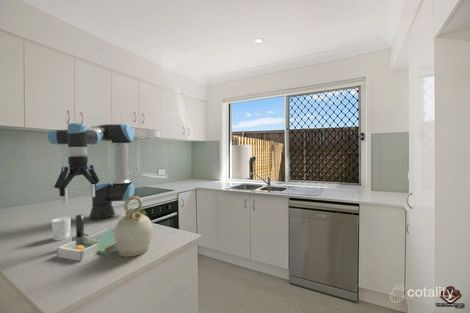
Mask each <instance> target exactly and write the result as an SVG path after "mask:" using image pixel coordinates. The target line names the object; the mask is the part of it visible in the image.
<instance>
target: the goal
mask: <svg viewBox="0 0 470 313" xmlns="http://www.w3.org/2000/svg"><path fill="white" fill-rule="evenodd" d="M75 247H76V241H72V240H71V241H70V242H67V243H65V244H62V245H61V246H57V248H56V257H57V258H59V259H60V258H62V259H68V260H72V261H77V262H83V261H85V260H87V259H89V258H91V257H93V256H95V255H97V254H99V253H98V244H95V245H92V246H90V247H88V248H86V249H84V250H77V249H74V248H75Z"/></svg>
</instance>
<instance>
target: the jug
mask: <svg viewBox="0 0 470 313" xmlns="http://www.w3.org/2000/svg"><path fill="white" fill-rule="evenodd" d="M132 200H136V201H138V207H136V208H133V207H131V208H130V209H129V207H128V205H129V202H131V201H132ZM123 202H124V203H123V209H124V211H125V213H126V212H128V215H127V216H126V215H125V216H123V217H122V218H121V219H119V220H118V221H117V223H116V225H115V227H114V228H115V229H114V230H115V233H114V235H115V241H116V245H117V249H116V250H117V251H118V255H119V256H121V257H125V258H131V257H136V256H140V255H143V254H144V253H146V252H147V251H148V250H149V248H150V245H151V240H152V233H153V224H152V223H153V222H152V220H151V219H150V218H149V217H148V216H147V215H146V214H145V215H143V214H141V213H140V212H139V211H140V209H141V210H142V208H143V203H144V202H143V200H142V198H141V197H140V196H137V195H133V196H131V197H129V198H127V199H126V201H123Z"/></svg>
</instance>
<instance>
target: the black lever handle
mask: <svg viewBox="0 0 470 313" xmlns="http://www.w3.org/2000/svg"><path fill="white" fill-rule="evenodd" d="M84 222H85V221H84V214H81V213H80V214H76V215H75V233H76V234H75V235H74V236H72V237H71V242H72V241H76V242H80V241H81V242H86V243H93V244H99V243H100V238H99V237H91V235H89V233H85V223H84Z"/></svg>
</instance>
